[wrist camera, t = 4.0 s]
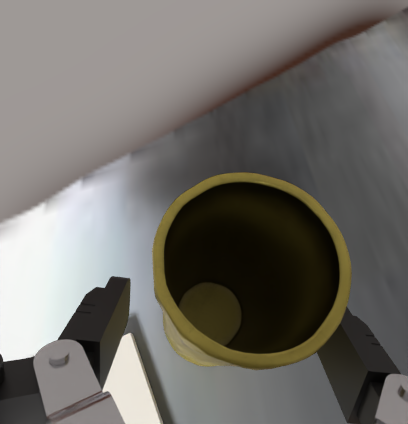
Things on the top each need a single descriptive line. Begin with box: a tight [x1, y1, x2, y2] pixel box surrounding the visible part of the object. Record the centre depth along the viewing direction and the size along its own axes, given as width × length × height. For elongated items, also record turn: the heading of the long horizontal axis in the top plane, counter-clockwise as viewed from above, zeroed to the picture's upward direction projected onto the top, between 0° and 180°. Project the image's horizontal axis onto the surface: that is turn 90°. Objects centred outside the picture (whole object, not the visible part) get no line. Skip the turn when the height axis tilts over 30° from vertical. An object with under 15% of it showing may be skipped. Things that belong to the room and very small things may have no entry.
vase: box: [152, 172, 352, 370], centre depth 14 cm, size 6×6×14 cm
